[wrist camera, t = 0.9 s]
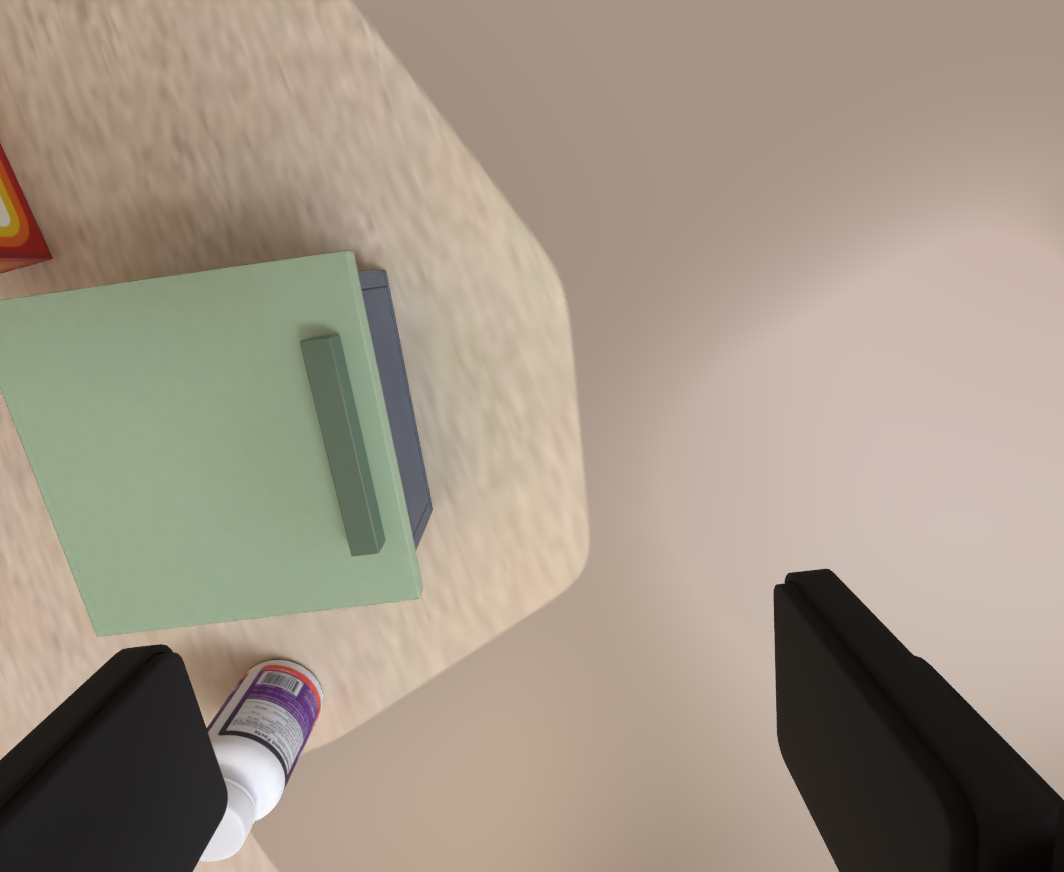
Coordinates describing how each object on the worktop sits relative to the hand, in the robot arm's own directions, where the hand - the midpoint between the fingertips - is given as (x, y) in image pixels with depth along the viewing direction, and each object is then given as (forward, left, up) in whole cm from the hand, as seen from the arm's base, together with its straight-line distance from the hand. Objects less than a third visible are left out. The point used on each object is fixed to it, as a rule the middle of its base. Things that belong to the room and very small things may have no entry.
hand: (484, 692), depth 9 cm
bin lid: (0, -13, -17) cm, 21 cm away
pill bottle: (+18, -18, -25) cm, 35 cm away
